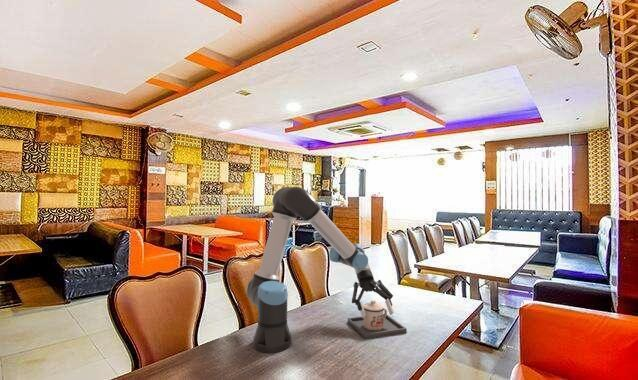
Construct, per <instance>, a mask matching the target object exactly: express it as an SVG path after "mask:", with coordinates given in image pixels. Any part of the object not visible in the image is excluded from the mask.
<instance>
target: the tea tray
mask: <svg viewBox="0 0 638 380" xmlns="http://www.w3.org/2000/svg"><path fill="white" fill-rule="evenodd" d="M383 316H384V313H383ZM347 323H348V324H349V325H350V326H351V327H352V328H353V329H354V330H355V331H356V332H357V333H358V334H359V335H360V336H361V337H362V338H363V339H364V340H367V339H375V338H381V337H387V336H388V337H389V336H394V335H395V336H396V335H400V334H407V328H406V327H405V326H404V325H402V324H401V323H399V322H398V321H396V320H395V319H394V318H392V317H391V315H389V314H387V315H386V317H385V319H383V328H382V329H381V330H377V331H373V330H368V329H366V328H365V327H364V318H362V316H355V317H347Z"/></svg>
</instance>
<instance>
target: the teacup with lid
mask: <svg viewBox="0 0 638 380" xmlns="http://www.w3.org/2000/svg"><path fill="white" fill-rule="evenodd" d="M370 301H371V302H368V303H365V304H363V307H364V310H365V313H366V317H365V318H364V327H365V328H366V329H368V330H373V331H377V330H381V329H382V328H383V319H385V317H386V315H388V311H387V310H388V309H386V308H384V306H383V305H382V304H381V303H378V302H376V300H375V299H372V300H370ZM383 314H384V316H383Z"/></svg>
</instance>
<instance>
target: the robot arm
mask: <svg viewBox="0 0 638 380" xmlns="http://www.w3.org/2000/svg"><path fill="white" fill-rule="evenodd" d="M272 196H273V197H272V205H273V207H272V211H271V214H272V216H273V219H272V223H271V227H270V231H269V234H268V237H267V240H266V244H265V248H264V251H263V254H262V257H261V262H260V265H259V267H258V269H257V270H256V271H255V272H254V274H253V277H252V278H251V279H250V280H249V282H248V283H247V286H246V295H247V298H248V300H249V301H250V303H252V305H254V306H255V308H256V309H257V326H256V330H255V333H254V336H253V338H252V339H253V341H252V342H253V343H252V345H253V349H255V350H256V351H258V352H261V353H267V354H268V353H269V354H271V353H272V354H273V353H280V352H283V351H285V350H287V349H288V348H290V347H291V345H292V334H291V332H290V328H289V325H288V296H289V294H288V287H287V285H286V284H285V283H283V282H281V281H280V280H281V278H280V275H279V270H280V267H281V264H282V260H283V257H284V254H285V249H286V245H287V243H288V239H289V236H290V233H291V229H292V224H293V222H294V221H296V220H297V219H298V216H299V217H300V218H301V219H302V220H303V221H304V222H308V223H309V224H310V225H311V226H312V227H313V228H314V230H315V231H317V232H318V233H319V234H320V236H321V237H322V238H323V239H324V240H325V241H326V242H327V243H328V244H329V245H330V246H331V248H330V250H329V252H328V253H329V254H328V256H329V260H330V262H332V263H341V264H343V265H345V266H349V267H350V268H353V269H354V272H355V274H356V278H357V281H358V282H357V281H355V282H354V283H353V292H352V298H351V303H352V304H355V306H356V307H357V310H358V311H360V315H361V317H362V318H365V317H366V313H365V310H364V307H363V306H364V304H363V301H361V299H362V297H363V295H364V293H368V292H374V293H376V294H377V295H379V296H380V297H381V298H382V299H384V300H385V301H384V302H385V305H386V308H387V310H388V311H387V312H389V316H392V315H393V314H394V312H395V311H394V309H393V303H392V299H393V297H394V294H392V292H391V291H390V290H389V289H388V287H386V286H385V285H384V284H383V282H382V280H381V279H378V280H375V279H374V275H373V273H372V269H371V267H370V264H369V257H368V256H367V254H366V253H365V250H364V248H363V246H362V245H361V244H360V243H355V244H353V243H352V242H351V241H350V239H349V238H347V236H346V235H345V234H344V233H343V232H342V231H341V229H339V228H338V226H336V224H335V223H334V222H333V221H332V220H331V219H330V218H329V217H328V215H327V214H326V213H325V212H324V211H323V210H322V205H321V204H320V202H318V201H317V200H316V198H314V197H313V195H311V194H310V193H309V192H308V191H307V190H306V189H305V188H303V187H301V186H284V187H282V188H279V189H277V190H276V192H274V194H273V195H272ZM358 288H361V290H360V292H359V294H358V290H359V289H358ZM357 296H358V297H357Z"/></svg>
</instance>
